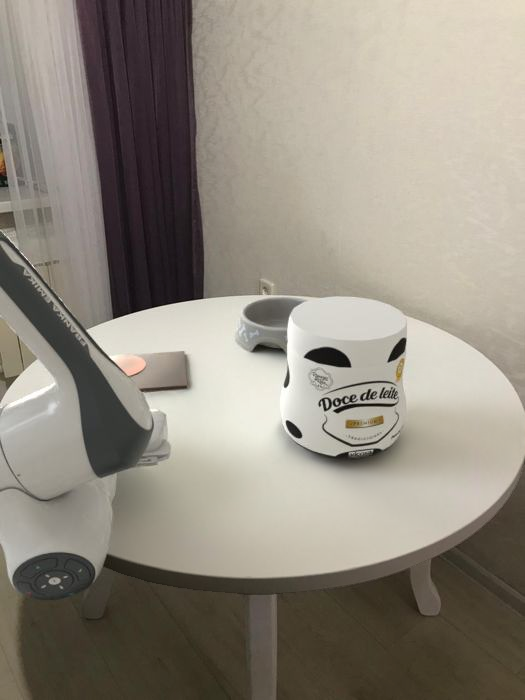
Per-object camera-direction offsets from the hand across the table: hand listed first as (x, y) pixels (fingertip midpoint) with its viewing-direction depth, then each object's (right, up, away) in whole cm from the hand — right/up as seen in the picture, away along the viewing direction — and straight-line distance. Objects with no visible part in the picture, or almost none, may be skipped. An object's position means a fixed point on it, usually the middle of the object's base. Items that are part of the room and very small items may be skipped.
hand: (90, 407), depth 78 cm
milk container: (+34, -4, +6) cm, 35 cm away
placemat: (0, +3, +22) cm, 22 cm away
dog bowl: (+27, +10, +36) cm, 46 cm away
